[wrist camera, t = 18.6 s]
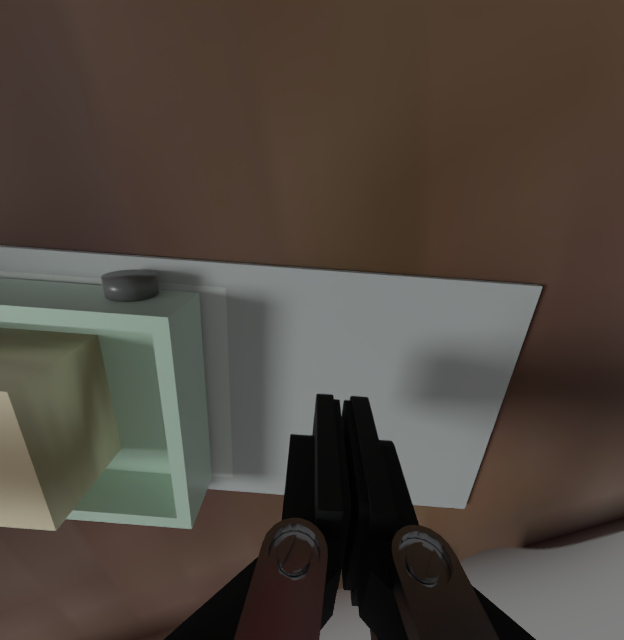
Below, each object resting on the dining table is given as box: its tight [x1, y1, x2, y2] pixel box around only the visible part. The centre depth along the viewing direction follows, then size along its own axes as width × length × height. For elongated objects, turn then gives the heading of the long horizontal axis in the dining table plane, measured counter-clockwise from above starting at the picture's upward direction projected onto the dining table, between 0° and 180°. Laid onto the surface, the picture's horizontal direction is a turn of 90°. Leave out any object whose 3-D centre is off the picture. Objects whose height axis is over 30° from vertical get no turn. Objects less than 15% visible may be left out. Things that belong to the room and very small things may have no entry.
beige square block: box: [0, 328, 121, 531], centre depth 12 cm, size 6×6×4 cm
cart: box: [0, 269, 212, 529], centre depth 13 cm, size 14×12×3 cm
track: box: [0, 245, 543, 509], centre depth 13 cm, size 30×12×4 cm, turn 86°
